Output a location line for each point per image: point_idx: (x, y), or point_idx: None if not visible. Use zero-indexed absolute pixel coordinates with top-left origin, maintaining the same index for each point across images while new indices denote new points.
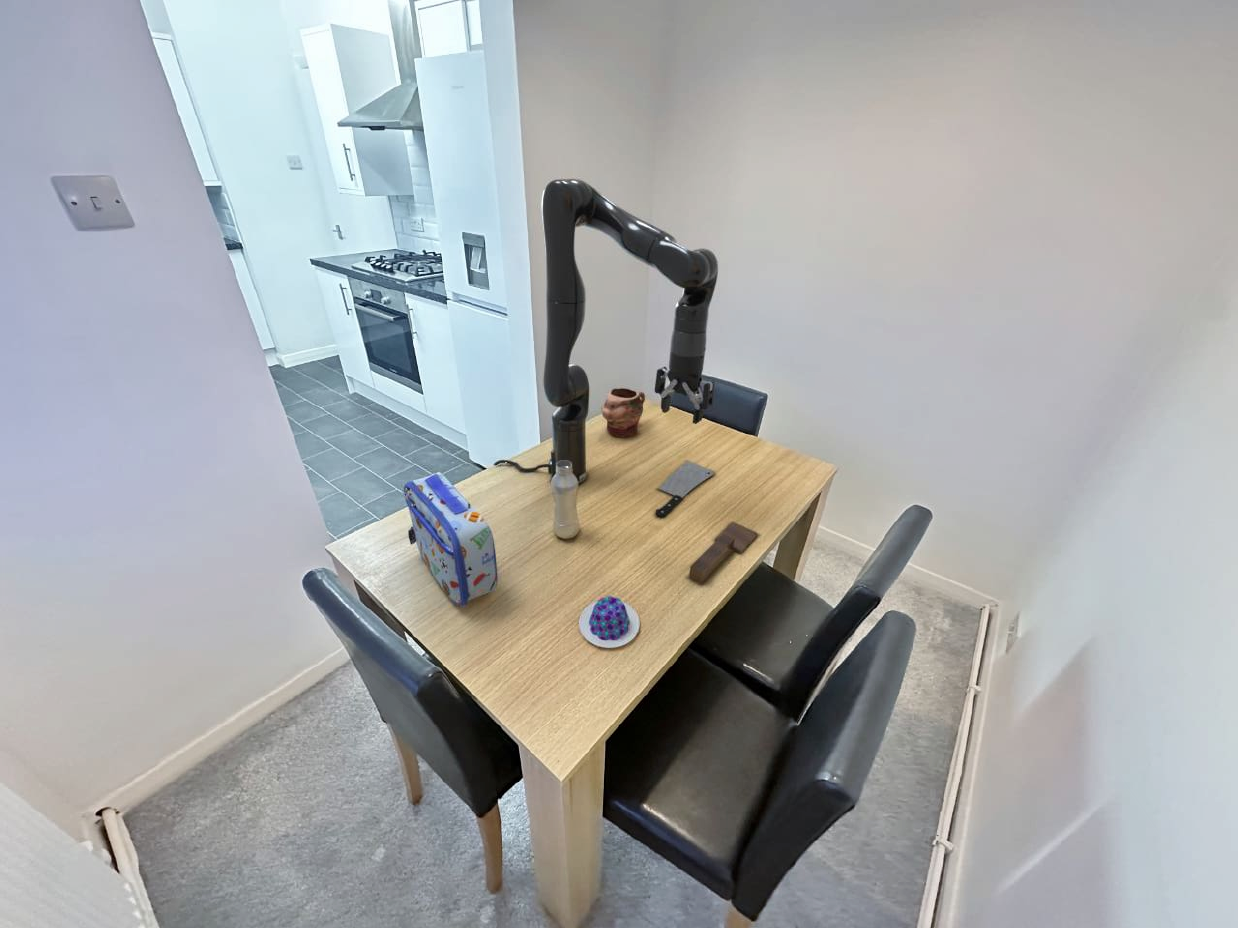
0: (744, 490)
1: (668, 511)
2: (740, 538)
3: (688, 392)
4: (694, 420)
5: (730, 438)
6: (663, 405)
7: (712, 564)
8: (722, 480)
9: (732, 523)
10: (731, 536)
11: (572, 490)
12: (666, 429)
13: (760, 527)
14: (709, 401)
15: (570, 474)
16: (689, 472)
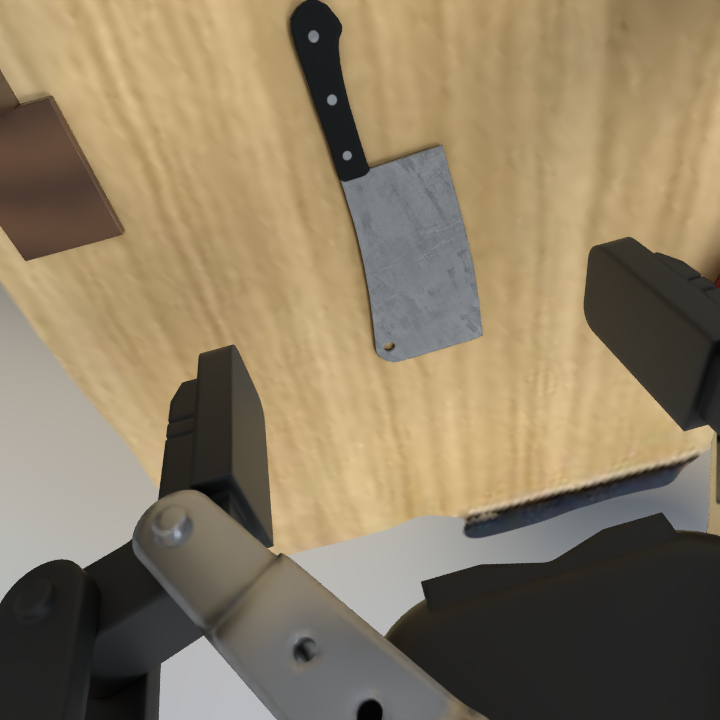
0: (260, 375)
1: (302, 64)
2: (14, 186)
3: (370, 699)
4: (209, 370)
5: (468, 485)
6: (666, 279)
7: None
8: (339, 357)
9: (112, 225)
10: (37, 165)
11: None
12: (634, 388)
13: (67, 293)
14: (104, 704)
15: None
16: (433, 302)
